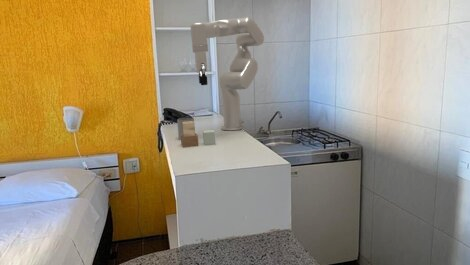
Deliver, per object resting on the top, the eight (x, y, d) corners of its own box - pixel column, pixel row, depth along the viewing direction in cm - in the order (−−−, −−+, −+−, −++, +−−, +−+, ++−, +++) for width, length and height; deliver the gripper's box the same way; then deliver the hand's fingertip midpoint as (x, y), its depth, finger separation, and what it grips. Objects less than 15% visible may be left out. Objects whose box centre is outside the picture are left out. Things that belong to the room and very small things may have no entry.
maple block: (183, 134, 175) (182, 122, 174) (194, 133, 176) (193, 121, 175) (183, 136, 170) (182, 123, 169) (194, 135, 171) (193, 122, 170)
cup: (192, 140, 185) (190, 120, 183) (176, 140, 186) (174, 120, 185) (197, 136, 193) (195, 117, 191) (182, 136, 195) (180, 117, 193)
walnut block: (181, 144, 177) (180, 134, 176) (195, 143, 178) (195, 133, 177) (183, 147, 170) (182, 137, 169) (198, 146, 172) (197, 135, 171)
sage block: (203, 143, 177) (203, 130, 176) (214, 142, 178) (213, 130, 176) (204, 145, 172) (203, 132, 171) (215, 144, 173) (214, 131, 172)
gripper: (191, 49, 189) (194, 83, 193) (193, 49, 173) (197, 86, 177) (206, 48, 190) (209, 82, 194) (209, 48, 174) (212, 85, 178)
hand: (203, 84), depth 185 cm, fingers open, 9 cm apart
